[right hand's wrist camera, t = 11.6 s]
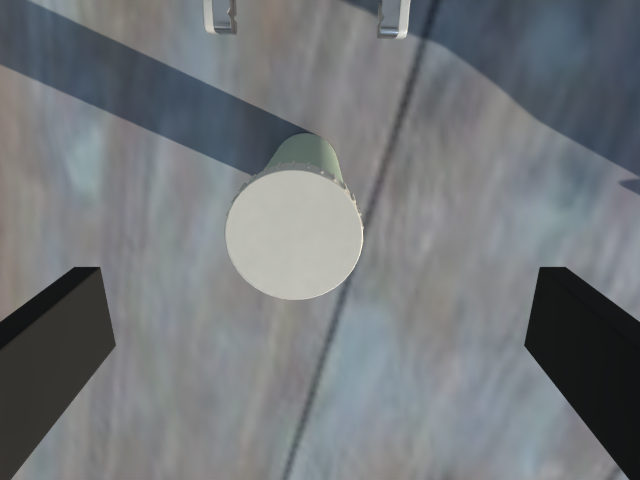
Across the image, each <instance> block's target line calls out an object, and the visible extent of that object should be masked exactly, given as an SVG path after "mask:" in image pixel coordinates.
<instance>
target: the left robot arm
mask: <svg viewBox="0 0 640 480" xmlns="http://www.w3.org/2000/svg"><path fill="white" fill-rule="evenodd" d="M202 3H203V18H204V26H205V30H206V32H207V33H210V34H236V33H237V22H236V21H235V19H234V17H235V16H236V1H235V0H202ZM409 8H410V0H381V2H380V3H379V4H378V19H379V21H380V23H379V24H378V26H377V38H386V39H403V38H405V37H406V34H407V29H408V19H409Z"/></svg>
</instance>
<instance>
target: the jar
mask: <svg viewBox="0 0 640 480" xmlns="http://www.w3.org/2000/svg"><path fill="white" fill-rule="evenodd" d="M293 161H295V162H296V163H305V164H307V162H310V165H314V166H317V167H320V168H321V166H322V167H323V169H324V170H326V171H328V172H329V173H331V174H333V173H334V174H336V177H337V178H338V179H339V180H340V181H341V182H342V183H343V180H342V176H341V172H340V168H339V164H338V161H337V157H336V154H335V152H334V150H333V148H332V147H331V145H330V144H329V143H328V142H327V141H326V140H325V139H323V138H322V137H320V136H317V135H315V134H310V133H301V134H296V135H293V136H291V137H289V138H288V139H286V140H285V141H284V142H283V143H282V144H281V145H280V146H279V148H278V149H277V151H276V152H275V154H274V156H273V157H272V159H271V160H270V162H269V163H268V165H267V166H266V167H268V168H270V167H272V166H275V165H278V163H279V162H281V164H284V163H292V162H293Z"/></svg>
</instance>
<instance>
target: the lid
mask: <svg viewBox="0 0 640 480" xmlns="http://www.w3.org/2000/svg"><path fill="white" fill-rule="evenodd" d="M239 191H240V193H239V194H237V195H236V196H235V197H234V199H233V200H232V202H231V203H232V205H231V207H230V210H229V211H228V213H227V219H226V224H225V242H226V248H227V251H228V255H229V257H230V259H231V261H232V263H233V265H234V267H235V268H236V270H237V271H238V272H239V274H240V275H241V276H242V277H243V278H244V279H245V280H246V281H247V282H248V283H249V284H251V285H252V286H253V287H255V288H256V289H258V290H260V291H262V292H264V293H266V294H268V295H271V296H274V297H278V298H283V299H292V300H298V299H307V298H313V297H316V296H319V295H322V294H324V293H326V292H328V291H330V290H332V289H333V288H335V287H336V286H338V285H339V284H340V283H341V282H342V281H343V280H344V279H345V278H346V277H347V276H348V275H349V274H350V272H351V271H352V270H353V268H354V266H355V265H356V263H357V261H358V258H359V256H360V252H361V248H362V242H363V229H364V226H363V223H362V220H361V219H360V215H361V212H360V209H359V206H356V204H355V202H356V201H355V197H354V195H353V193H352V194H351V193H350V192H349V190H348V189H347V186H346V184H345V182H344V183H342V182H341V181H340V180H339V179H338V178H337V177H336V174H334V173H333V174H331V173H329V172H328V171H326V170H324V169H323V167H322V166H321V168H320V167H317V166H314V165H310V162H307V164H305V163H296V162H295V161H293V162H292V163H284V164H281V162H279V163H278V165H275V166H272V167H270V168H268V167H265V169H264V170H263V171H261V172H260V173H259V174H257V175H256V174H254V175H253V176H252V177H251V179H250V180H249V182H248V183H247V184H246V183H244V184H243V186H242V187H241V188H240V190H239Z"/></svg>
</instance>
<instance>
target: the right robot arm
mask: <svg viewBox="0 0 640 480" xmlns="http://www.w3.org/2000/svg"><path fill="white" fill-rule="evenodd" d="M115 346H116V344H115V339H114V334H113V329H112V324H111V319H110V314H109V309H108V304H107V299H106V294H105V289H104V284H103V279H102V274H101V269H100V267H74V268H73V269H71V270H70V271H68V272H67V273H66V274H64V275H63V276H62V277H60V278H59V279H58V280H56V281H55V282H54V283H52V284H51V285H50V286H48V287H47V288H46V289H44V290H43V291H41V292H40V293H39V294H37V295H36V296H35V297H33V298H32V299H31V300H29V301H28V302H27V303H25V304H24V305H23V306H21V307H20V308H19V309H17V310H16V311H15V312H13V313H12V314H10V315H9V316H8V317H6V318H5V319H4V320H2V321H1V322H0V480H11V479H12V477H13V476H14V475H15V473H16V472H17V471H18V470H19V468H20V467H21V466H22V465H23V463H24V462H25V461H26V459H27V458H28V457H29V456H30V454H31V453H32V452H33V451H34V449H35V448H36V447H37V445H38V444H39V443H40V442H41V440H42V439H43V438H44V436H45V435H46V434H47V433H48V431H49V430H50V429H51V428H52V426H53V425H54V424H55V422H56V421H57V420H58V419H59V417H60V416H61V415H62V414H63V412H64V411H65V410H66V408H67V407H68V406H69V405H70V403H71V402H72V401H73V400H74V398H75V397H76V396H77V394H78V393H79V392H80V391H81V389H82V388H83V387H84V385H85V384H86V383H87V382H88V380H89V379H90V378H91V377H92V375H93V374H94V373H95V371H96V370H97V369H98V368H99V366H100V365H101V364H102V363H103V361H104V360H105V359H106V357H107V356H108V355H109V354H110V352H111V351H112V350H113V348H114V347H115ZM524 346H525V347H526V348H527V350H528V351H529V352H530V354H531V355H532V356H533V357H534V359H535V360H536V361H537V363H538V364H539V365H540V366H541V368H542V369H543V370H544V371H545V373H546V374H547V375H548V377H549V378H550V379H551V380H552V382H553V383H554V384H555V385H556V387H557V388H558V389H559V391H560V392H561V393H562V394H563V396H564V397H565V398H566V400H567V401H568V402H569V403H570V405H571V406H572V407H573V408H574V410H575V411H576V412H577V414H578V415H579V416H580V417H581V419H582V420H583V421H584V422H585V424H586V425H587V426H588V428H589V429H590V430H591V431H592V433H593V434H594V435H595V436H596V438H597V439H598V440H599V442H600V443H601V444H602V445H603V447H604V448H605V449H606V451H607V452H608V453H609V454H610V456H611V457H612V458H613V459H614V461H615V462H616V463H617V465H618V466H619V467H620V468H621V470H622V471H623V472H624V473H625V475H626V476H627V477H628V479H629V480H640V322H639V321H638V320H636V319H635V318H634V317H632V316H631V315H630V314H628V313H627V312H625V311H624V310H623V309H621V308H620V307H619V306H617V305H616V304H615V303H613V302H612V301H611V300H609V299H608V298H607V297H605V296H604V295H603V294H601V293H600V292H599V291H597V290H596V289H594V288H593V287H592V286H590V285H589V284H588V283H586V282H585V281H584V280H582V279H581V278H580V277H578V276H577V275H576V274H574V273H573V272H572V271H570V270H569V269H567V268H566V267H540V269H539V274H538V279H537V284H536V289H535V294H534V299H533V304H532V309H531V314H530V319H529V324H528V329H527V334H526V339H525V344H524Z"/></svg>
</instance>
